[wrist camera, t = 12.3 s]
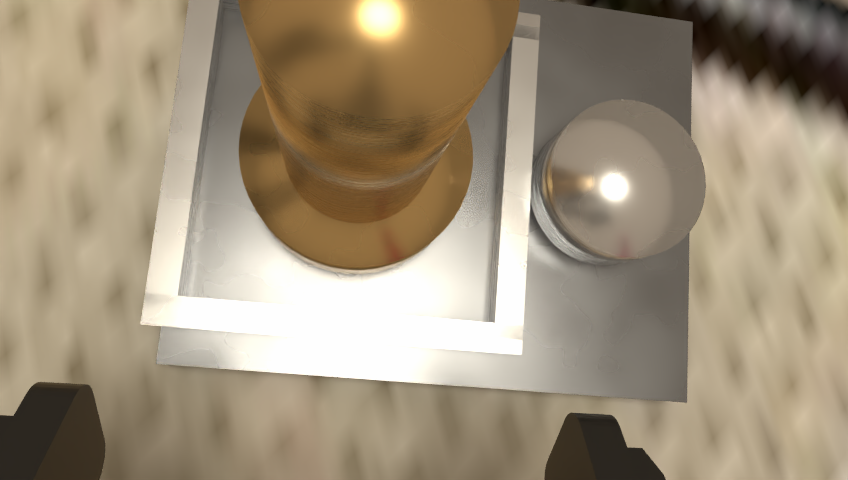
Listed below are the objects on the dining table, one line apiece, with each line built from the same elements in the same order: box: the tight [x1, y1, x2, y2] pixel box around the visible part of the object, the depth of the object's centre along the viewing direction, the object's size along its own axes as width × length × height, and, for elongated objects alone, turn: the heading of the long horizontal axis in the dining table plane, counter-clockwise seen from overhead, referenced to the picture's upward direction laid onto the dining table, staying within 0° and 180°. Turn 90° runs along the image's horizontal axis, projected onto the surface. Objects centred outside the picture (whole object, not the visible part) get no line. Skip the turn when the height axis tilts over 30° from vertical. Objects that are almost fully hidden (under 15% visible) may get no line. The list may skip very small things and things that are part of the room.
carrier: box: [141, 0, 706, 403], centre depth 18 cm, size 15×12×3 cm
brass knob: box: [238, 0, 520, 274], centre depth 13 cm, size 6×6×10 cm
